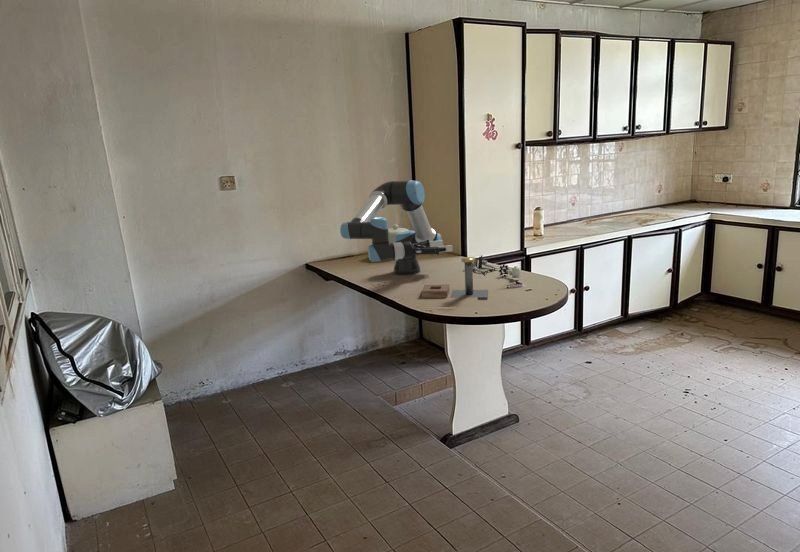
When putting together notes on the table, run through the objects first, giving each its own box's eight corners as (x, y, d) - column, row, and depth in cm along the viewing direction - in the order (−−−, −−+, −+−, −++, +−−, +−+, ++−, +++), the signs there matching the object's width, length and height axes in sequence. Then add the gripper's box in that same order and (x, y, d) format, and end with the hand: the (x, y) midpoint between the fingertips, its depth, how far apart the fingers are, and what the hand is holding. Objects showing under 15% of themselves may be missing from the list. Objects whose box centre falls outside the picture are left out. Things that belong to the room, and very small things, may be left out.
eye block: (425, 292, 275) (424, 284, 274) (449, 292, 273) (449, 284, 272) (421, 299, 264) (421, 291, 263) (447, 299, 261) (447, 291, 261)
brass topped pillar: (462, 292, 268) (461, 257, 264) (476, 292, 267) (475, 256, 263) (462, 296, 262) (460, 260, 258) (475, 295, 261) (474, 259, 256)
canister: (401, 260, 350) (399, 227, 345) (378, 258, 360) (375, 226, 355) (416, 254, 365) (414, 222, 360) (393, 253, 375) (391, 221, 370)
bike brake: (463, 268, 317) (485, 279, 301) (464, 256, 314) (486, 268, 299) (482, 264, 324) (505, 275, 308) (483, 253, 321) (506, 264, 305)
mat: (452, 292, 273) (452, 290, 273) (488, 291, 270) (487, 289, 270) (450, 299, 261) (450, 297, 260) (487, 299, 258) (487, 297, 257)
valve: (523, 279, 289) (508, 275, 299) (523, 266, 287) (508, 263, 298) (513, 281, 286) (498, 277, 296) (513, 268, 284) (498, 265, 295)
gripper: (396, 253, 265) (439, 248, 269) (409, 264, 241) (456, 258, 245) (395, 237, 263) (439, 233, 267) (408, 247, 239) (456, 242, 244)
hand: (447, 245), depth 256 cm, fingers open, 13 cm apart
